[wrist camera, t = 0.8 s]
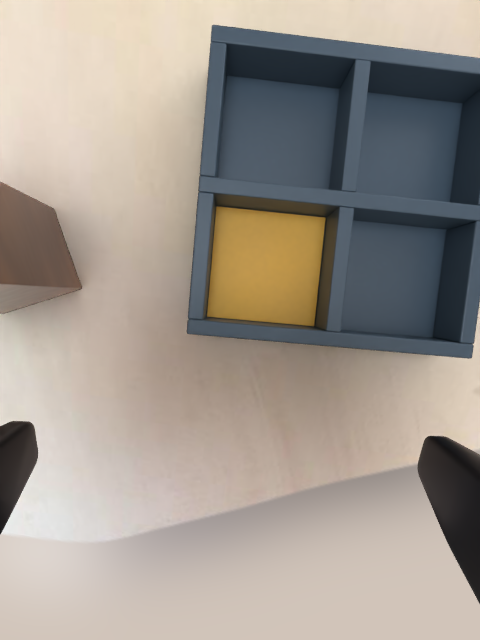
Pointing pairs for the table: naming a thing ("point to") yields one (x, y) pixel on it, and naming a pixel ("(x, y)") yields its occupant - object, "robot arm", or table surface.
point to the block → (31, 252)
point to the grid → (338, 195)
